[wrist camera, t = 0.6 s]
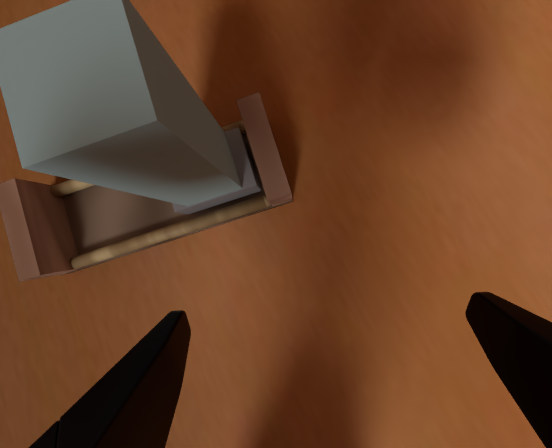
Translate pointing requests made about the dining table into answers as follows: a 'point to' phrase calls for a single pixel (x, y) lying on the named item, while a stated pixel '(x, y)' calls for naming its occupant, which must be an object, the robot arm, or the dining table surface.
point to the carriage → (115, 109)
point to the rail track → (126, 211)
